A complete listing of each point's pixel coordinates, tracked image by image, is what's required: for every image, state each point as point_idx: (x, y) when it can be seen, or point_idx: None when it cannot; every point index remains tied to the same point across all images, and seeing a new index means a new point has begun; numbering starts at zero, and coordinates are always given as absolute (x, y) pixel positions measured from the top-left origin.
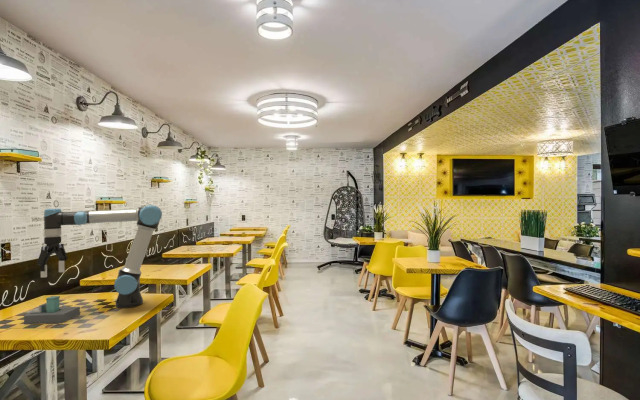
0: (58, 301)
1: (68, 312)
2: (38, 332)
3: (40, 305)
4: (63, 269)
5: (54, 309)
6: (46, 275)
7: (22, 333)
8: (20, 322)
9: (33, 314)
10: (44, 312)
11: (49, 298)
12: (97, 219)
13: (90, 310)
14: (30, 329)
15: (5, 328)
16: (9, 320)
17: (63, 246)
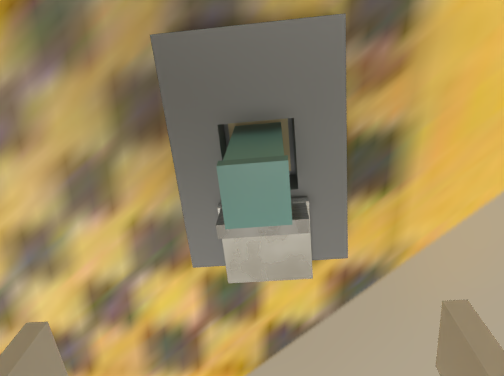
0: (234, 153)
1: (282, 20)
2: (495, 39)
3: (307, 225)
4: (20, 360)
5: (278, 136)
6: (466, 320)
7: (493, 124)
8: None
9: (330, 221)
10: None
11: (290, 197)
12: None
13: (68, 30)
14: (429, 133)
15: (392, 270)
16: (274, 340)
17: None
